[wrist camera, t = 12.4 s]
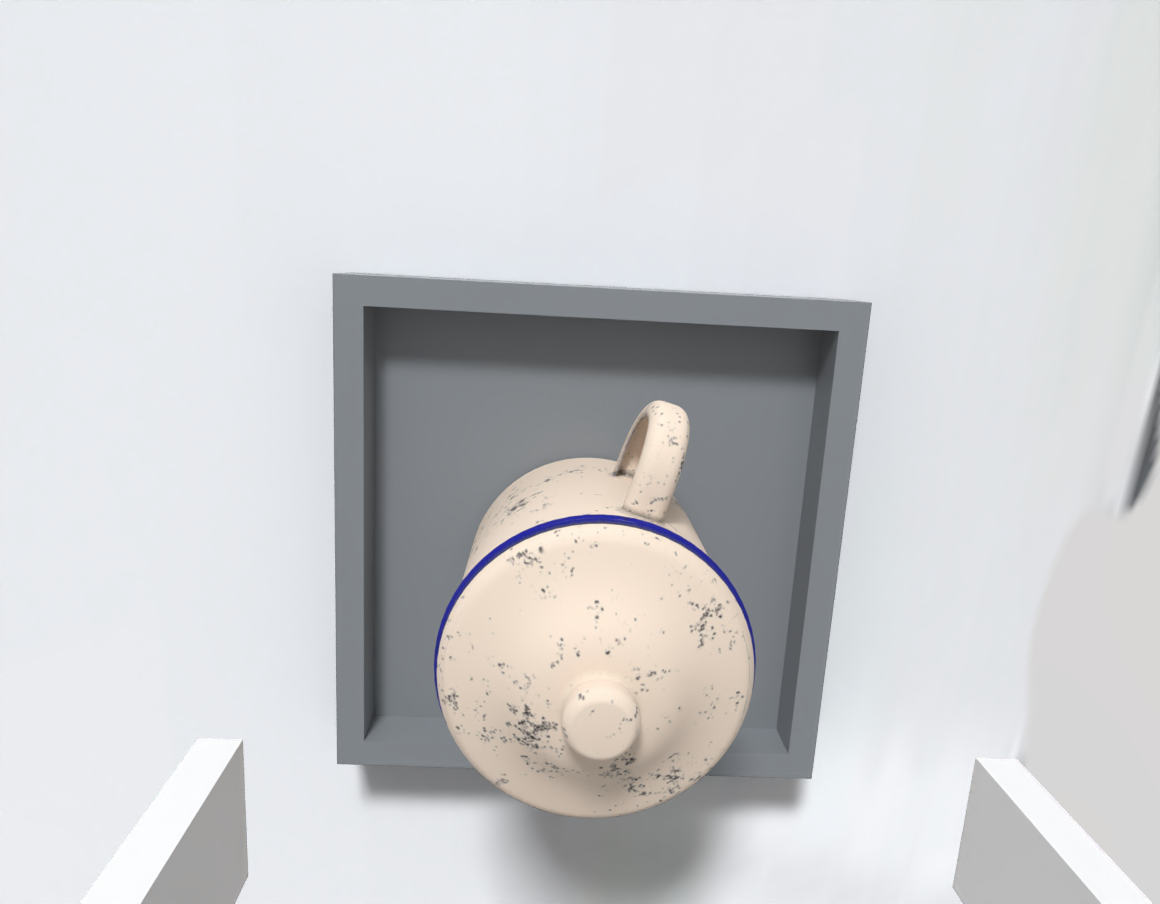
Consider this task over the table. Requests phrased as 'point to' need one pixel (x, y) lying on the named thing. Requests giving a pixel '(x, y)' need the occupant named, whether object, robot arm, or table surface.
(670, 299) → the tray
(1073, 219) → the table surface
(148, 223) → the table surface
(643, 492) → the teacup with lid
